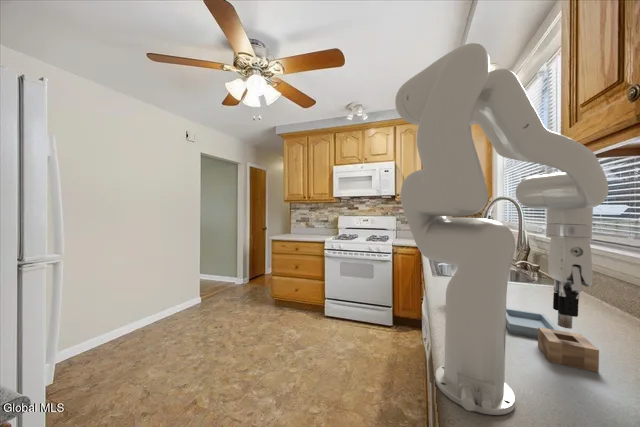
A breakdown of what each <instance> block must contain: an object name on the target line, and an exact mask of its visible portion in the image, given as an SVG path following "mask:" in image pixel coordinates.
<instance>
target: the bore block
mask: <svg viewBox="0 0 640 427" xmlns="http://www.w3.org/2000/svg"><path fill="white" fill-rule="evenodd" d="M537 346H538V348H539V349H540V351H541V352H542V354H543V355H544V356H545V358H546V359H547V361H548V362H549V363H553V364H559V365H563V366H566V367H567V366H568V367H571V368H577V369H581V370H586V371H590V372H591V371H592V372H596V373H599V369H600V366H599V365H600V364H599V363H600V361H599V360H600V350H599V349H598V348H597V347H596V346H595V345H594V344H593V343H591V342H590V341H589V339H588V338H586V337H585V336H584V335H583V334H581V333H575V332H571V331H562V330H560V331H558V330H553V329H547V328H541V327H538V338H537Z"/></svg>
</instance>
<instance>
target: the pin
mask: <svg viewBox="0 0 640 427" xmlns="http://www.w3.org/2000/svg"><path fill="white" fill-rule="evenodd" d="M566 283H571V282H566ZM567 287H570V286H566V289H567ZM559 296H561V282H559ZM557 326H559V327H561V328H564V329H570V330H571V329H573V316H567V315H561V314H559V313H558V312H557Z"/></svg>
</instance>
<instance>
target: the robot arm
mask: <svg viewBox="0 0 640 427" xmlns="http://www.w3.org/2000/svg"><path fill="white" fill-rule="evenodd" d="M490 66H491V61H490V56H489V53H488V51H487V49H486V48H485V47H484V45H481V44H480V43H476V42H475V43H474V42H471V43H470V42H469V43H468V44H463V45H461V46H459V47H457V48H455V49H453V50H451V51H449V52H448V53H446V54H445V55H443V56H442V57H440V58H439V59H437V60H435V61H433V62H432V63H431V64H429V65H428V66H427V67H425V68H424V69H423V70H421V71H420V72H418V73H417V74H415V75H413V77H411V78H409V79H408V80H406V81H405V82H404V83H403V84H402V85H401V86H400V88H399V89H398V91H397V92H396V95H395V104H394V105H395V108H396V111H397V113H398V115H399V117H400V118H401V119H403V120H404V121H405V122H407V123H408V124H412V125H414V126H418V127H417V131H416V146H417V147H416V148H417V152H418V154H419V158H420V163H421V166H422V169H417V170H415V171H413V172H411V173H410V174H409V175H407V176H406V177H405V179H404V180H403V182H402V184H401V188H400V204H401V207H402V210H403V213H404V216H405V218H406V222H407V223H408V227H409V229H410V232H411V234H412V237H413V240H414V242H415V245H416V247H417V249H418V250H419V252H420V253H421V254H422V256H424V257H425V258H426V259H428V260H431V261H433V262H437V263H441V264H446V265H450V266H452V267H453V266H454V267H456V268H457V269H456V271H455V273H454V275H452V277H451V278H450V280H449V281H448V283H447V286H446V288H445V316H444V317H445V319H444V322H445V323H444V356H443V357H444V358H443V359H444V361H443V362H444V364H442V365H440V366H439V367H438V368H436V370H435V375H434V376H435V380H434V382H435V384H436V385H437V387H438V389H439V390H440V391H441V392H442V394H444V396H446V397H447V398H448V399H450V400H451V401H453V402H454V403H456V404H457V405H460V406H461V407H463V408H464V409H465V410H466V411H467V412H476V413H479V414H485V415H488V416H489V415H492V416H500V415H501V416H502V415H506V414H509V413H511V412H512V411H513V410H514V409H515V407H516V394H514V391H513V390H512V388H511V387H510V386H509V385H508V384H507V383H506V382H505V376H506V375H505V374H506V373H505V372H506V371H505V370H506V336H507V333H506V332H507V331H506V330H507V327H506V308H507V295H508V294H507V293H508V283H509V276H510V272H511V266H512V264H513V259H514V255H515V251H516V239H515V236H514V233H513V232H512V231H511V229H510V228H509V227H508V226H507V225H505V224H503V223H502V222H499V221H498V220H493V219H490V218H481V217H464V216H471V215H475V214H477V213H479V212H481V211H482V210H483V209H485V207H486V205H487V204H488V201H489V192H488V187H487V183H486V182H487V181H486V178H485V176H484V172H483V169H482V166H481V163H480V162H481V161H480V158H479V155H478V152H477V149H476V145H475V141H474V137H473V133H472V126H473V125H479V127H480V128H481V130H482V131H483V133H484V134H485V136H486V137H487V139H488V140H489V142H490V144H491V146H492V147H493V148H494V150H495V152H496V154H497V155H499V156H500V157H503V158H505V159H509V160H514V161H518V162H519V161H520V162H525V163H532V164H539V165H543V166H548V167H551V168H553V169H556V170H558V171H560V172H555V173H549V174H541V175H533V176H529V177H526V178H524V179H523V180H521V181H520V182H519V183H518V184H517V186H516V188H515V197H516V199H517V201H518V203H519V204H521V205H522V206H523V207H526V208H528V209H532V210H533V209H534V210H535V209H536V210H539V209H540V210H546V228H545V229H546V230H545V231H546V232H545V236H546V238H548V239H549V238H550V240H549V241H550V242H549V248H548V249H549V250H548V262H547V265H548V266H547V270H548V271H547V272H548V275H549V276H550V278H552V279H553V298H552V299H553V301H552V308H553V310H555V311H557V314H558V313H559V314H561V315H567V316H573V317H574V318H577V317H579V303H580V302H579V301H580V293H582V292H583V287H584V286H585V287H592V285H593V256H592V248H591V242H590V241H592V239H593V219H594V216H593V215H594V213H593V212H594V208H595V207H598V206H599V205H602V203H604V202H605V201H606V199H607V198H608V195H609V182H608V179H607V176H606V173H605V172H604V168H603V167H602V165H601V163H600V161H599V160H598V158H597V156H596V154H595V153H594V152H593V151H592V150H591V149H590V148H589V147H587V146H585V145H584V144H582V143H581V142H578V141H577V140H575V139H573V138H571V137H568V136H566V135H563V134H561V133H558V132H554V131H551V130H549V129H547V128H546V127H545V125H544V123H543V122H542V119H541V116H539V114H538V112H537V109H535V107H534V104H533V103H532V101H531V100H530V97H529V96H528V94H527V92H526V90H525V88H524V87H523V85H522V84H523V83H521V81H520V79H519V77H518V76H517V74H515V72H514V71H512V70H510V69H507V68H500V69H494V70H490V69H491V67H490ZM559 282H561V296H559ZM566 282H571V283H566ZM566 286H570V287H567V289H566ZM573 317H572V318H573Z"/></svg>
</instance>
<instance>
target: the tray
mask: <svg viewBox="0 0 640 427" xmlns="http://www.w3.org/2000/svg"><path fill="white" fill-rule="evenodd" d="M538 327H541V328H547V329H553V330H558V331H561V330H560V329H559V328H558V327H557V326H556V325H555V324H554V322H552V321H551V320H550V319H549V317H547V316H546V315H545V314H544V313H540V312H539V313H538V312H533V311H527V310H526V311H525V310H519V309H512V308H507V307H506V330H508V333H509V334H516V335H519V336H520V335H521V336H526V337H531V338H536V339H538Z"/></svg>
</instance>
